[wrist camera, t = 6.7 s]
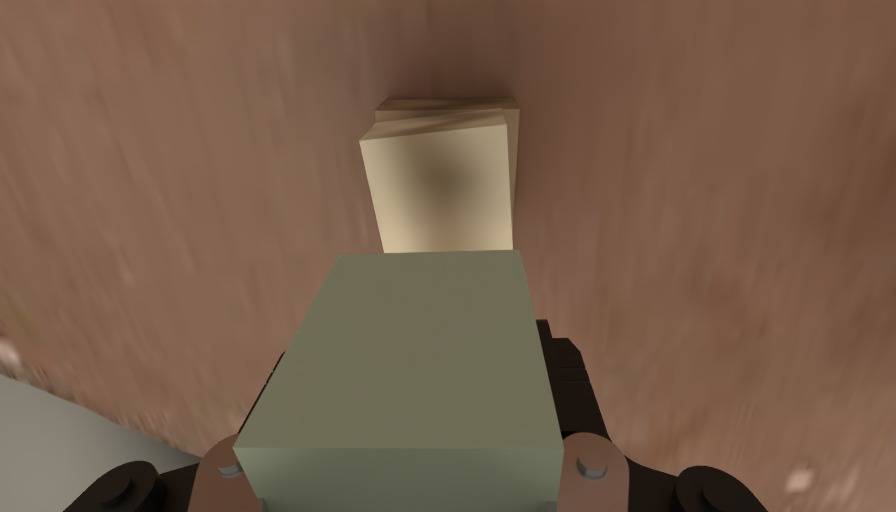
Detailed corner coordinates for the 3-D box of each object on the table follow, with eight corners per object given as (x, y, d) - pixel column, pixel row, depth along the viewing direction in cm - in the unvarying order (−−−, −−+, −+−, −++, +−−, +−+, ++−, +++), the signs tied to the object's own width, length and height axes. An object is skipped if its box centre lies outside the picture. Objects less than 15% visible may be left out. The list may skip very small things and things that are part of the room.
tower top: (500, 107, 22) (506, 124, 19) (507, 223, 26) (513, 255, 22) (375, 122, 23) (359, 140, 20) (398, 233, 27) (387, 265, 23)
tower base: (513, 97, 26) (520, 109, 22) (506, 213, 30) (511, 239, 26) (386, 98, 26) (374, 110, 23) (397, 213, 30) (387, 239, 27)
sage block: (519, 249, 11) (564, 448, 6) (515, 381, 14) (544, 604, 8) (339, 254, 12) (232, 447, 6) (366, 382, 14) (306, 598, 9)
